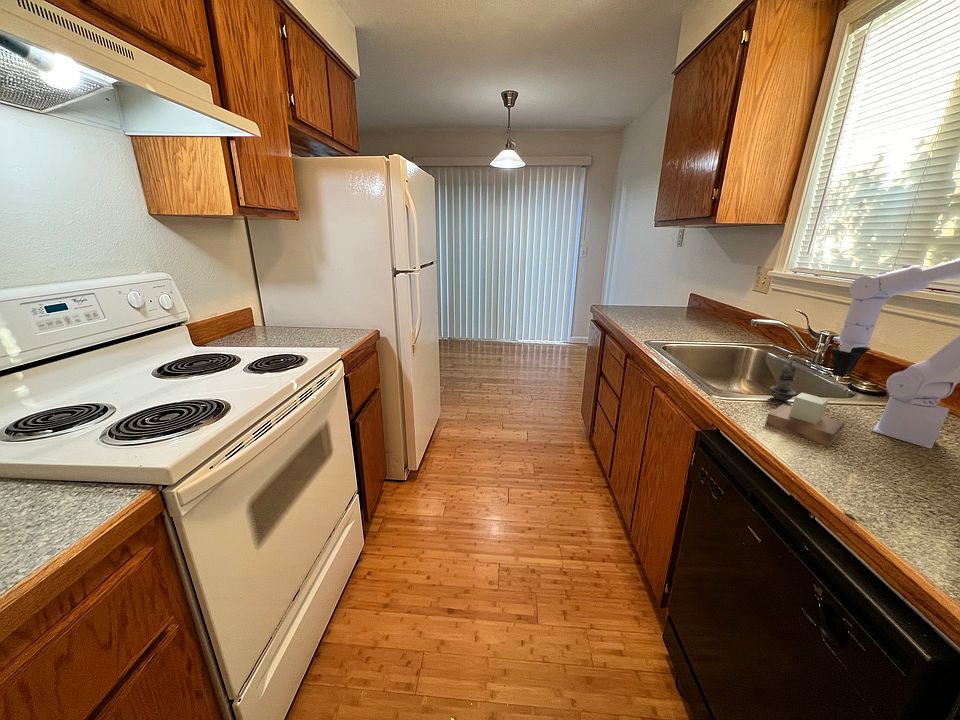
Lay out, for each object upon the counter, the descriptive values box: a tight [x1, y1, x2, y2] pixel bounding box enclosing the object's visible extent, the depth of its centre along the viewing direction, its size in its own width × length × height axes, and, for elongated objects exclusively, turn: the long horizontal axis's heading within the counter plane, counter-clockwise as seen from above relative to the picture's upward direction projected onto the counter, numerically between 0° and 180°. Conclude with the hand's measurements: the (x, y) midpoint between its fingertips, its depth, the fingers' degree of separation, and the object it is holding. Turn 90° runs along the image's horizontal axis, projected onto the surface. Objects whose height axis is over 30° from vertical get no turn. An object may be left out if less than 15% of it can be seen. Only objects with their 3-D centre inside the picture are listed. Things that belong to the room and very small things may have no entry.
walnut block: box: [764, 404, 845, 447], centre depth 90 cm, size 12×10×3 cm
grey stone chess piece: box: [767, 361, 797, 407], centre depth 104 cm, size 6×6×12 cm
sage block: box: [789, 392, 829, 425], centre depth 89 cm, size 5×5×5 cm
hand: (842, 373), depth 102 cm, fingers open, 7 cm apart
